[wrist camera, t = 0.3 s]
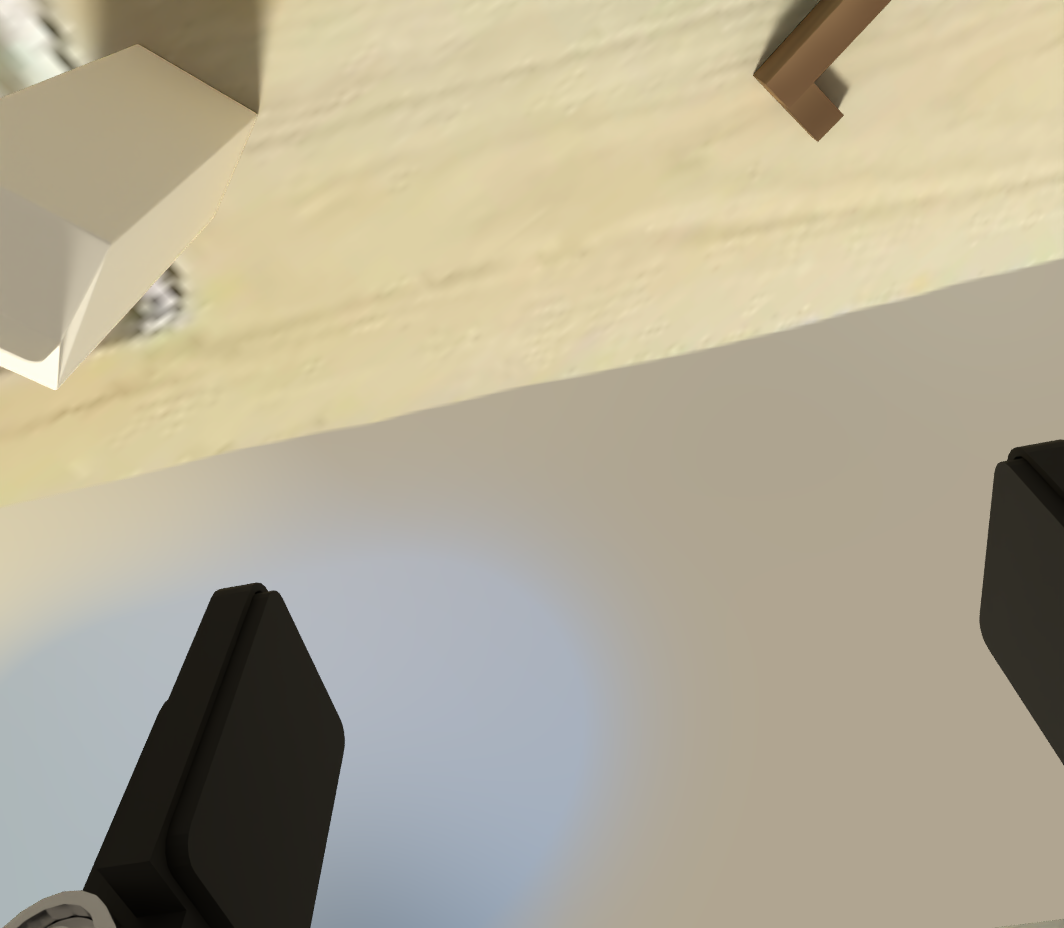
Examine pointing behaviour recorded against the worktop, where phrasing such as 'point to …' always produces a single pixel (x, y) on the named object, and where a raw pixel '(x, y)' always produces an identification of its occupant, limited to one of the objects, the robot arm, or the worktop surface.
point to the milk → (102, 198)
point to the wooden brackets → (815, 60)
